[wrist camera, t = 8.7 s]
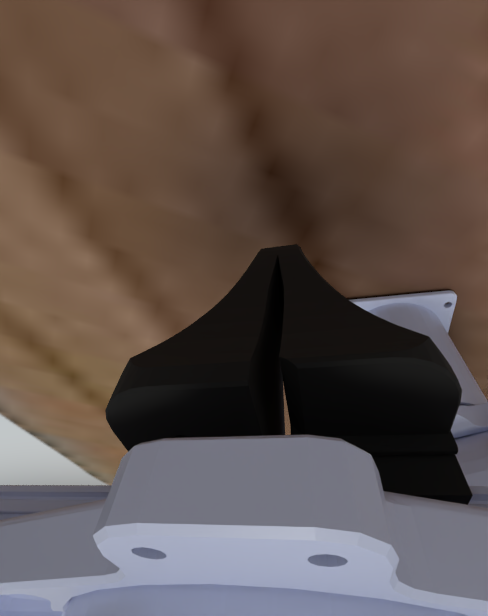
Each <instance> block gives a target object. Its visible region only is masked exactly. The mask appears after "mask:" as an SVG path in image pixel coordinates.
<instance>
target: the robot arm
mask: <svg viewBox="0 0 488 616" xmlns="http://www.w3.org/2000/svg"><path fill="white" fill-rule="evenodd" d="M456 300H457V295H456V294H455V292H454V291H450V290H448V291H437V292H427V293H416V294H406V295H395V296H385V297H374V298H363V299H353V300H348V299H346V298H345V297H344V296H343V295H341V294H340V293H339V292H337V291H336V290H335V289H334V288H333V287H332V286H331V285H330V284H328V283H327V282H326V281H325V280H324V279H323V278H322V277H321V275H320V274H319V273H318V272H317V271H316V270H315V269H314V267H313V266H312V265H311V264H310V262H309V261H308V260H307V258H306V257H305V255H304V254H303V252H302V250H301V247H300V246H298V245H297V244H296V245H288V246H281V247H273V248H265V249H261V250H260V251H259V252H258V254H257V255H256V257H255V258H254V260H253V262H252V263H251V264H250V266H249V267H248V269H247V270H246V272H245V273H244V274H243V276H242V277H241V278H240V280H239V281H238V282H237V283H236V285H235V286H234V287H233V288H232V289H231V290H230V292H229V293H228V294H227V295H226V296H225V297H224V298H223V299H222V300H221V301H220V302H219V303H218V304H217V305H215V306H214V307H213V308H212V309H211V310H210V311H209V312H207V313H206V314H205V315H203V316H202V317H201V318H199V319H198V320H197V321H195V322H194V323H193V324H191V325H190V326H189V327H187V328H186V329H184V330H182V331H181V332H179V333H178V334H176V335H174V336H173V337H171V338H169V339H168V340H166V341H164V342H162V343H160V344H159V345H156V346H154V347H152V348H150V349H148V350H146V351H144V352H142V353H140V354H138V355H136V356H134V357H132V358H130V360H129V361H128V363H127V365H126V367H125V369H124V371H123V373H122V375H121V377H120V379H119V381H118V383H117V386H116V388H115V390H114V392H113V394H112V396H111V399H110V401H109V403H108V405H107V408H106V419H107V421H108V423H109V425H110V427H111V429H112V430H113V432H114V433H115V435H116V436H117V437H118V438H119V440H120V441H121V442H122V444H123V445H124V446H125V448H126V449H127V450H128V453H127V454H126V455H125V456H124V457H123V458H122V460H121V462H120V465H119V467H118V470H117V473H116V475H115V478H114V481H113V483H112V486H90V485H88V486H84V485H81V486H79V485H73V486H72V485H70V486H68V485H66V486H65V485H62V486H61V485H60V486H58V485H56V486H55V485H52V486H51V485H48V486H47V485H42V486H40V485H30V486H29V485H28V486H27V485H22V486H21V485H0V616H488V401H487V399H486V398H485V396H484V394H483V392H482V391H481V389H480V387H479V386H478V384H477V382H476V381H475V379H474V377H473V376H472V374H471V372H470V370H469V369H468V367H467V365H466V364H465V362H464V360H463V359H462V357H461V355H460V354H459V352H458V350H457V348H456V347H455V345H454V343H453V342H452V340H451V338H450V337H449V335H448V331H449V328H450V324H451V320H452V316H453V312H454V308H455V304H456ZM447 302H449V303H448V304H445V303H447ZM283 383H284V389H285V395H286V400H287V406H288V412H289V418H290V424H291V435H285V423H284V399H283Z"/></svg>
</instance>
